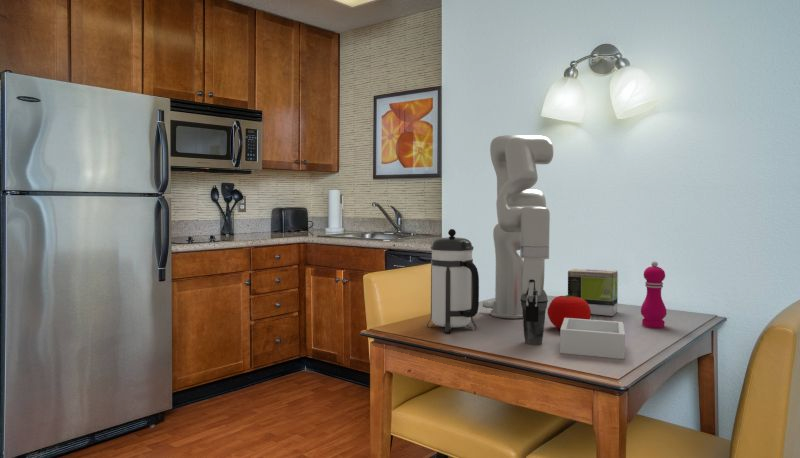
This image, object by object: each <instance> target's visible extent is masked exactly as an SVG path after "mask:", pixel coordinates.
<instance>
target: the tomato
mask: <svg viewBox="0 0 800 458" xmlns="http://www.w3.org/2000/svg"><path fill="white" fill-rule="evenodd" d="M547 316H548V320H549V321H550V322H551V324H552V325H553V326H554V327H556V328H558V329H561V326H562V324H563V321H564V318H575V319H589V320H591V318H592V317H591V316H592V314H591V310H590V307H589V305H588V303H587V302H586V301H585V300H584V299H582V298H579V297H577V296H576V297H574V296H570V294H568V293H567V294H565V295H558V296H556V297H554V298H553V299H552V300H551V301H550V302H549V305H548V306H547Z"/></svg>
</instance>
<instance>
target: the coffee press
mask: <svg viewBox="0 0 800 458" xmlns="http://www.w3.org/2000/svg"><path fill="white" fill-rule="evenodd" d="M456 233H457V232H456V230H455V229H454V228H453V229H452V228H450V229H449V230H448V235H449V236H448V237H438V238H436V239H435V240H434V241H433V242H432V244H431V246H430V250H431V258H430V319H429V321H428V322H427V323H426V326H427V327H428V328H432V327H433V326H435V325H436V326H437V327H438V326H439V327H443V328H444V334H451V329H452V328H463V327H468V328H469V329H470V330H472V331H476V329H477V325H476V323H475V322H474V317H476V315H478V314H477V313H478V310H479V304H480V303H479V302H480V279H479V271H478V267H477V266H476V265H475V264H474V260H473V259H474V258H473V251H474V246H473V244H472V242H471V241H470V240H469V239H468V238H464V237H456ZM430 322H432V323H433V324H432V325H429V323H430ZM471 323H472V324H473V326H474V327H475V328H473V327H472V326H471V325H470V324H471Z"/></svg>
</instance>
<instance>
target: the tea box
mask: <svg viewBox="0 0 800 458" xmlns="http://www.w3.org/2000/svg"><path fill="white" fill-rule="evenodd" d="M618 274H619V273H618V270H616V269H611V270H610V269H598V268H597V269H596V268H595V269H592V268H572V269H570V270H568V271H567V295H568V294H570V296H574V297H576V296H577V297H579V298H582V299H584V300H585V301H586V302H587V303H588V305H589V307H590V310H591V315H598V316H608V317H609V316H610V317H613V316H614V315H616V313H617V312H618V295H619V294H618V291H619V290H618V289H619V288H618V282H619V281H618V277H619V275H618Z"/></svg>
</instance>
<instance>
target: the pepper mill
mask: <svg viewBox="0 0 800 458" xmlns="http://www.w3.org/2000/svg"><path fill="white" fill-rule="evenodd" d="M658 265H659V263H658V262H657V261H652V262H651V266H648V267H646V268H645V270H644V271H643V278H644V279H645V280H646V281H645V282H644V283H645V285H644V286H645V287H646V296H645V298H644V300H643V302H642V304H641V307H640V314H641V316H642V317H643V318H642V319H641V325H642V327H646V328H651V329H663V328H665V324H666V323H665V321H664V318H665V317H666V316H667V314H668V313H667V309H666V305H665V303H664V301H663V298H662V289H663V287H664V286H663V285H664V283H663V281H664V280H665V278H666V272H665V270H664V269H663V268H662V267H660V266H658Z"/></svg>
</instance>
